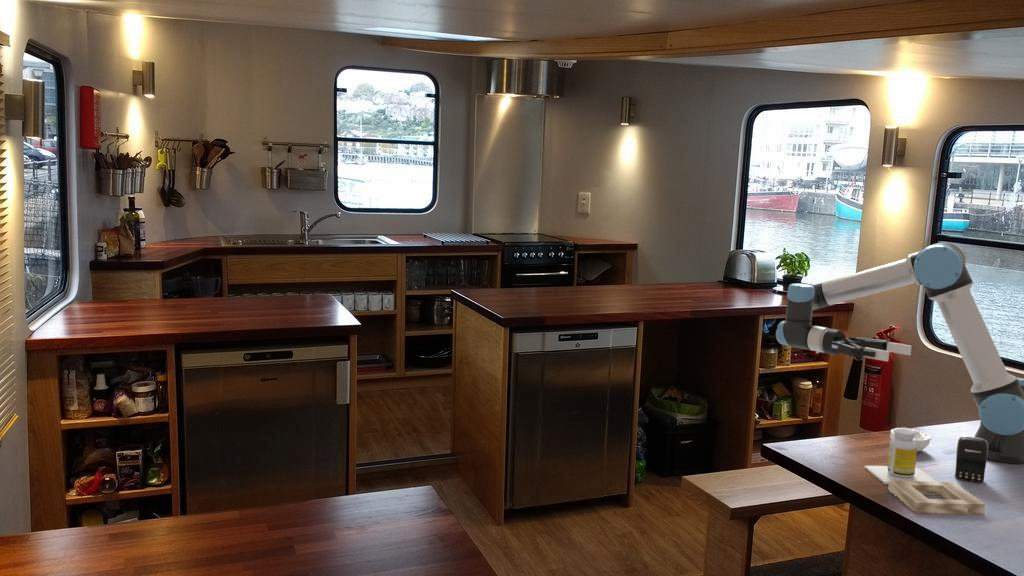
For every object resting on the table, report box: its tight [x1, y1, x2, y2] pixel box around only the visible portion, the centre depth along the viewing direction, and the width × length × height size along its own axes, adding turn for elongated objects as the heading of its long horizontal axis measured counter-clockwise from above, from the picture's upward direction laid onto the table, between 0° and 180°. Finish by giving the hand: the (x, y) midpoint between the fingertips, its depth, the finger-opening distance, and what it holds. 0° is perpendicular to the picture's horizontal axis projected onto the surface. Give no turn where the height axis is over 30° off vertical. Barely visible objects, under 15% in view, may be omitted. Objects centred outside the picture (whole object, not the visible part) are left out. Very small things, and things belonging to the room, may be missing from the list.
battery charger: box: [954, 435, 988, 484], centre depth 209 cm, size 7×4×11 cm, turn 61°
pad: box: [863, 465, 938, 485], centre depth 212 cm, size 14×12×1 cm
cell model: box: [889, 427, 933, 453], centre depth 234 cm, size 10×12×7 cm
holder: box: [887, 481, 986, 515], centre depth 195 cm, size 16×14×2 cm
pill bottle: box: [887, 428, 918, 478], centre depth 211 cm, size 6×6×12 cm
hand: (899, 353), depth 222 cm, fingers open, 13 cm apart
